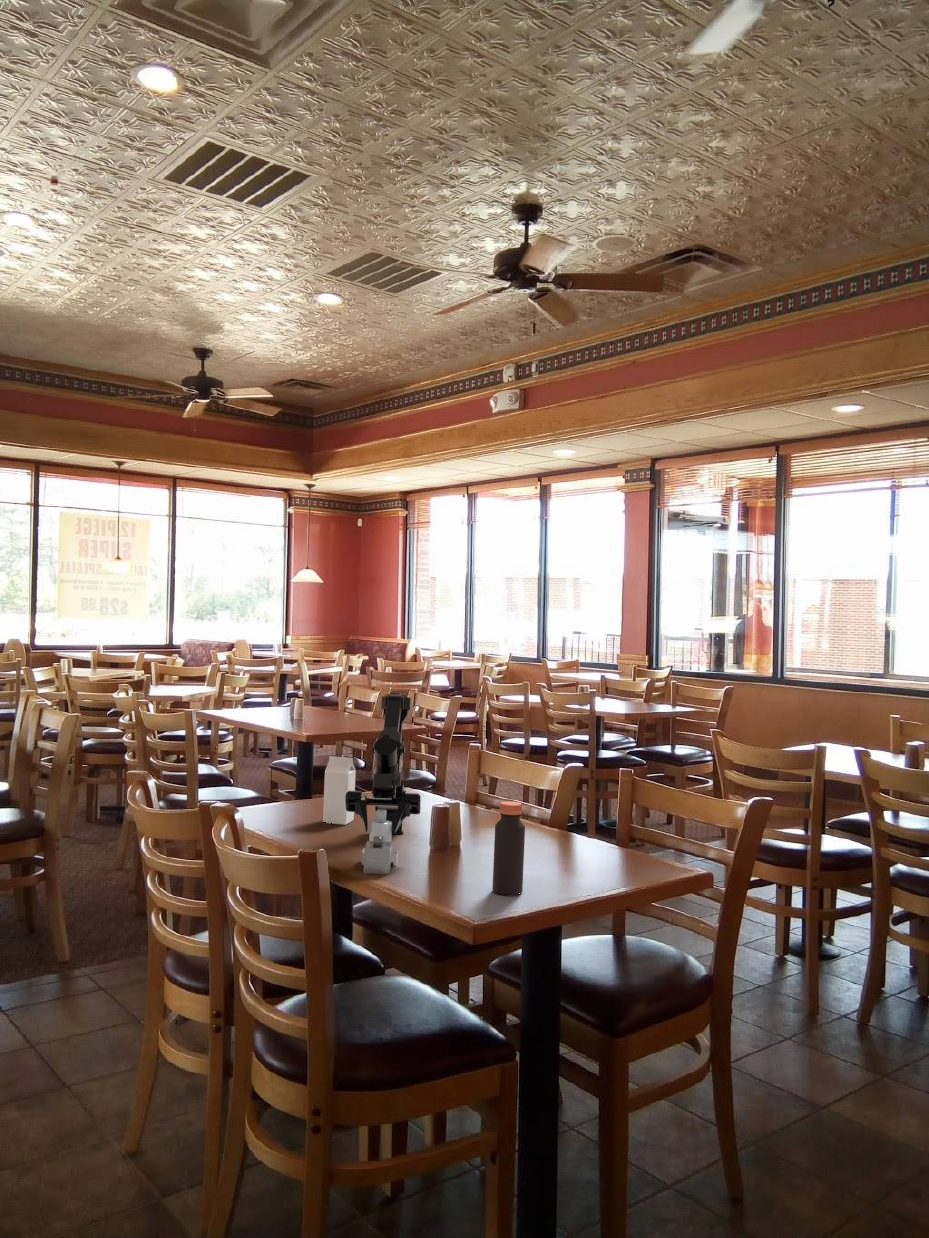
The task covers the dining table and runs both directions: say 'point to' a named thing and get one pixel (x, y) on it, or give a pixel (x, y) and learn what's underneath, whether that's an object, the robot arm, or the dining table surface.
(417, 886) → the dining table surface
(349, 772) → the milk carton
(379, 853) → the motor
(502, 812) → the bottle
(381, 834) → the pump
